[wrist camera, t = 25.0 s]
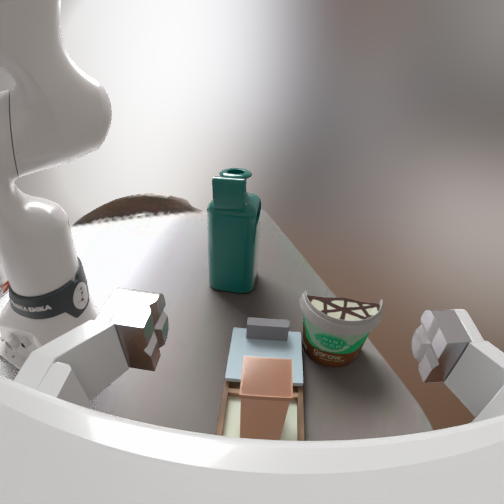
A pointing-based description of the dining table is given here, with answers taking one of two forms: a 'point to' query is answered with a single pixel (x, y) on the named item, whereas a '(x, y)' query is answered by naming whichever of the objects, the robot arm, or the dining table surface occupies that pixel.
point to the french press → (2, 280)
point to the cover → (265, 346)
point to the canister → (265, 397)
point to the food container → (336, 328)
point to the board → (232, 407)
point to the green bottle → (233, 232)
